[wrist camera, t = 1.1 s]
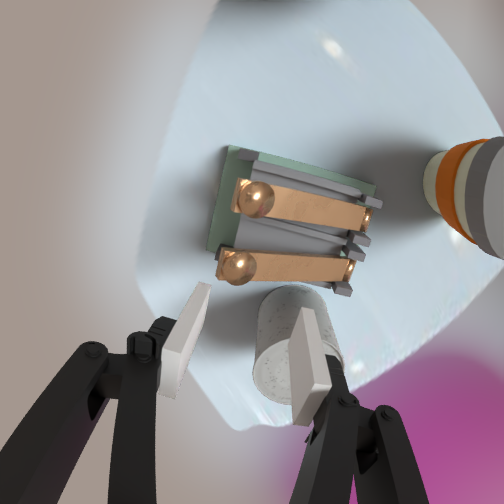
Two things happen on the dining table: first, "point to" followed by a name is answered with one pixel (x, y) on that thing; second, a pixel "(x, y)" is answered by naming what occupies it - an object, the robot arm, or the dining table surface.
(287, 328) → the gray concrete cylinder
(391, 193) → the dining table surface
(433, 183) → the reusable coffee cup
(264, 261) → the strap
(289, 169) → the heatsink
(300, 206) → the strap
